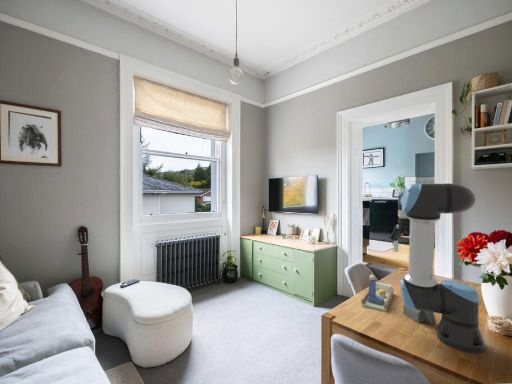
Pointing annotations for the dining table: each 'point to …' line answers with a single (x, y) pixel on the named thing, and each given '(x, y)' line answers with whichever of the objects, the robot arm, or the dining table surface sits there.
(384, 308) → the pitch
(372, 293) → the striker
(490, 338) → the dining table surface
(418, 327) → the dining table surface
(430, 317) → the digital clock
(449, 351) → the dining table surface
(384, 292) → the ball
